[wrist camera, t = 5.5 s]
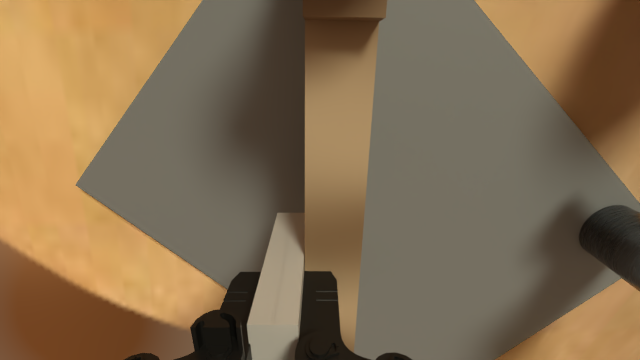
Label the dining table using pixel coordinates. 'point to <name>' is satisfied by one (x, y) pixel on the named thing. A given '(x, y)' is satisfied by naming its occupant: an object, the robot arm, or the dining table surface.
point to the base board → (373, 172)
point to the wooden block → (338, 140)
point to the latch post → (615, 240)
